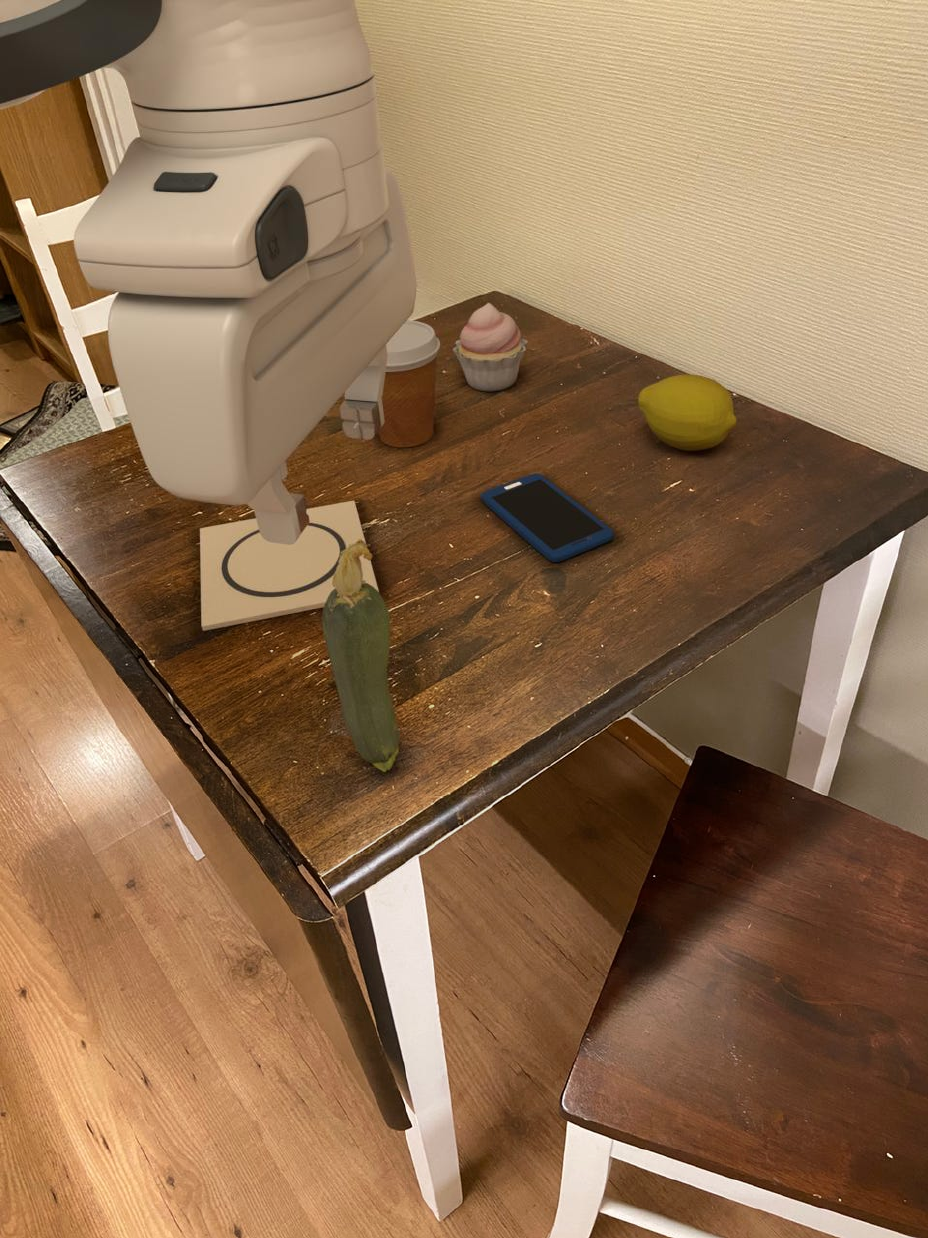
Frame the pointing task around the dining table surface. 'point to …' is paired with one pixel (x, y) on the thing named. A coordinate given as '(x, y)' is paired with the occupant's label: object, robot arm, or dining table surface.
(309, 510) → the board
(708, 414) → the lemon
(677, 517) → the dining table surface
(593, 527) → the cell phone
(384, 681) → the vegetable
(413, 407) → the disposable coffee cup
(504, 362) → the cupcake
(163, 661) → the dining table surface
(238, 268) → the robot arm
